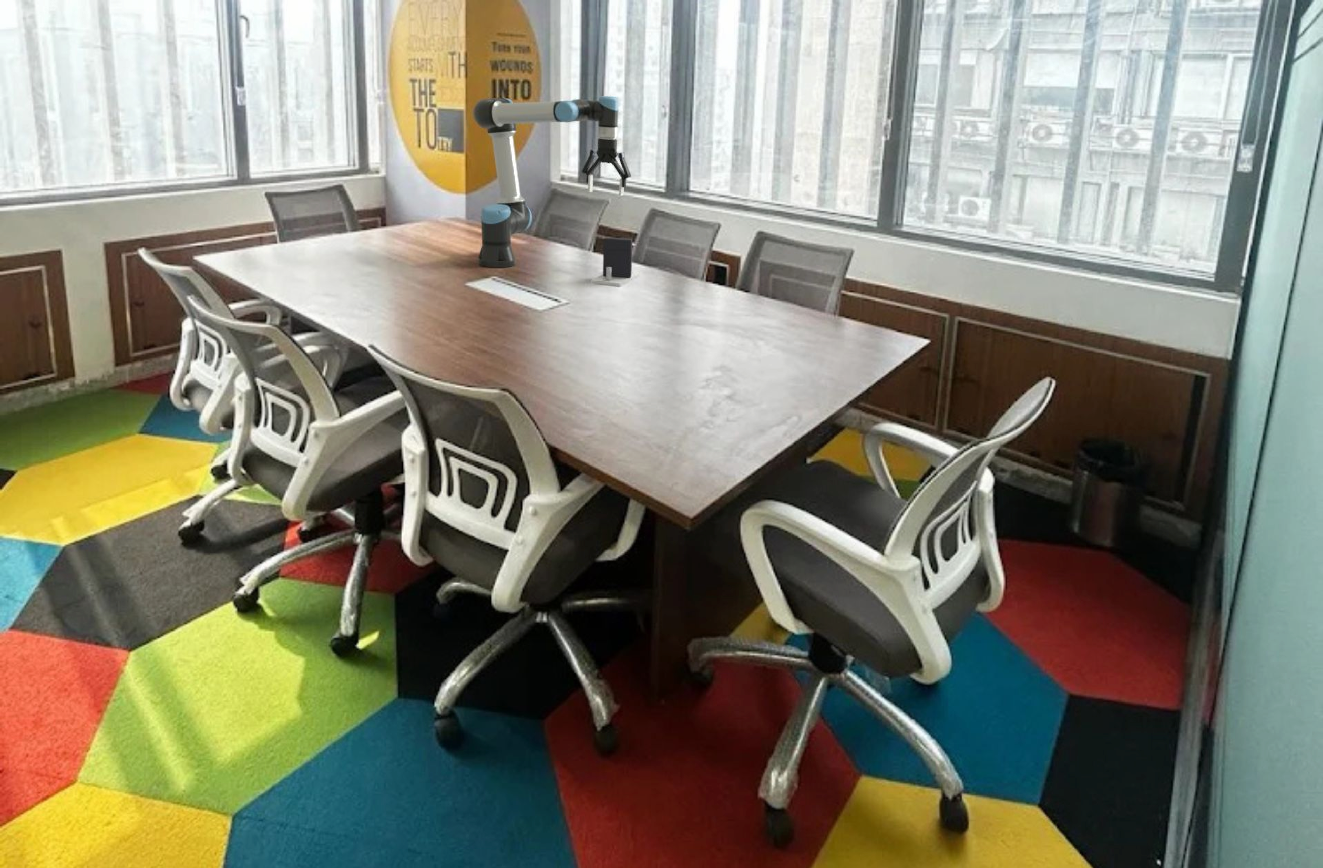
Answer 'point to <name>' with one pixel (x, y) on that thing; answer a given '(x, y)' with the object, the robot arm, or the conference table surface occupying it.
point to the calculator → (617, 256)
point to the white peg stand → (614, 278)
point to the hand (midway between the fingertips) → (605, 193)
